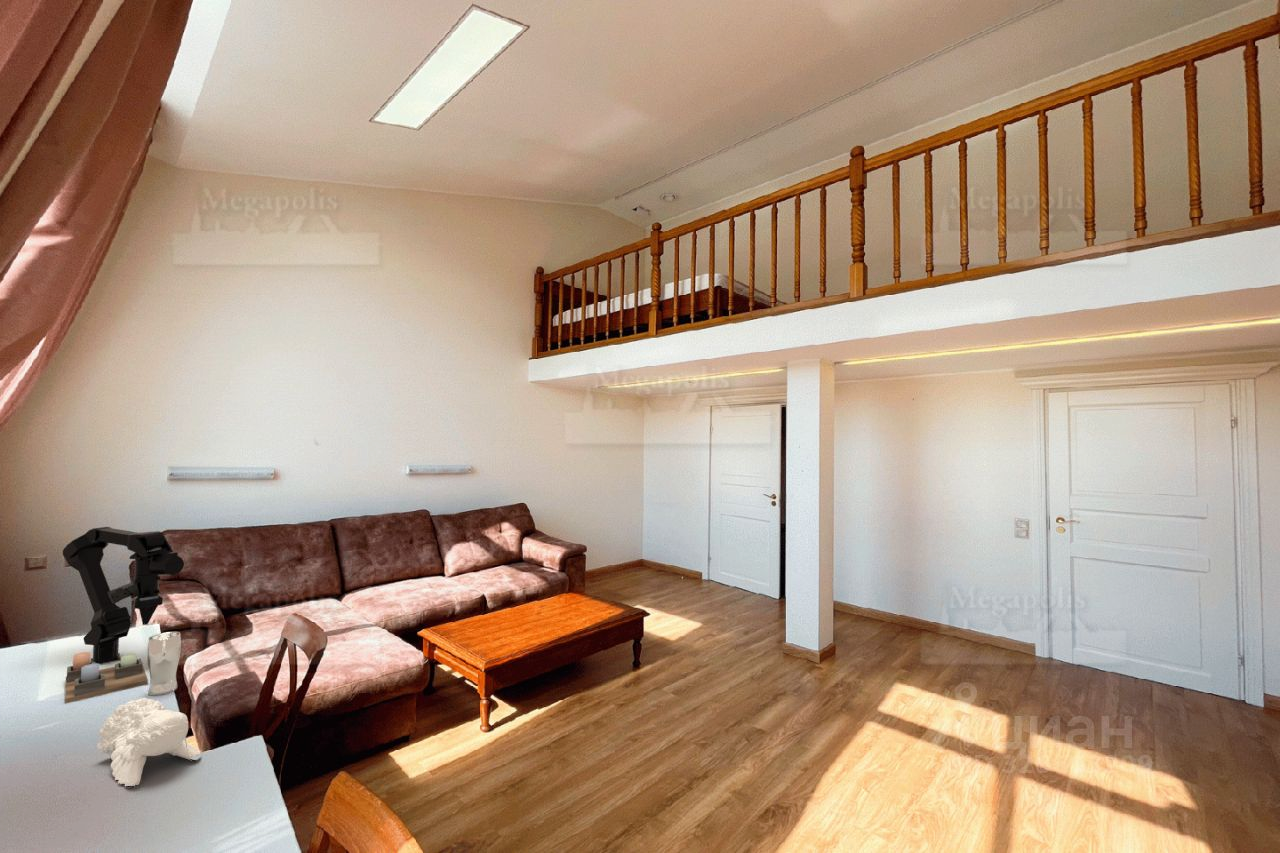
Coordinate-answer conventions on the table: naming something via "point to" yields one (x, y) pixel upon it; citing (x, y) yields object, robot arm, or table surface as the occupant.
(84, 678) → the slate button
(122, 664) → the sage button
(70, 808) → the table surface
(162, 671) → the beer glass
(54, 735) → the table surface
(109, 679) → the button panel
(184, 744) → the white curly sculpture
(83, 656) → the terracotta button
